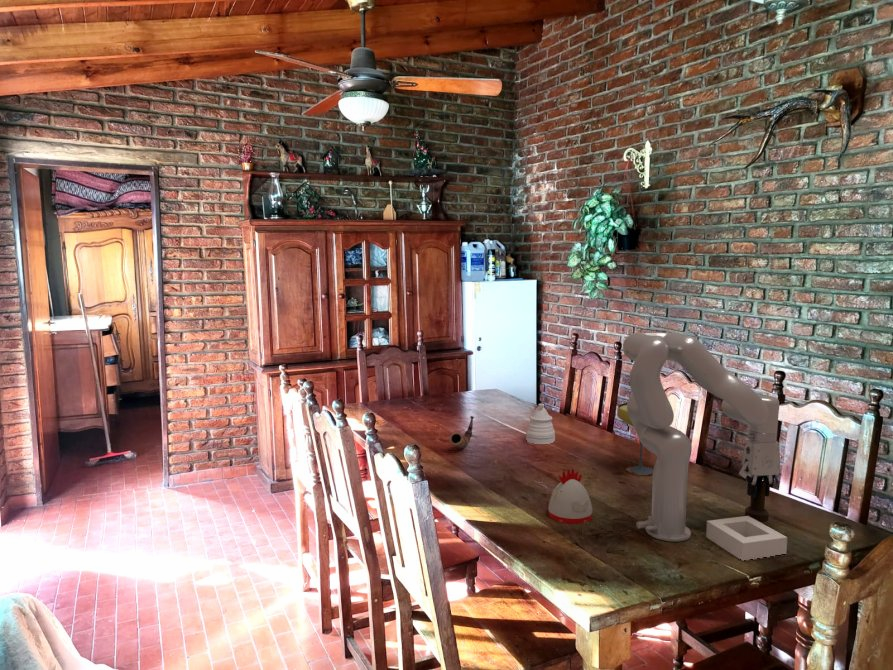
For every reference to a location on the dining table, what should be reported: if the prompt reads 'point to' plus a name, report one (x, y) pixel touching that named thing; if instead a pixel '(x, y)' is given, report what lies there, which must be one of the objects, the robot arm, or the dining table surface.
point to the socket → (746, 537)
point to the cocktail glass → (640, 469)
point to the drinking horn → (462, 441)
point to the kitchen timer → (570, 500)
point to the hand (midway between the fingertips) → (758, 495)
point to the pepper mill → (758, 503)
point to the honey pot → (540, 427)
